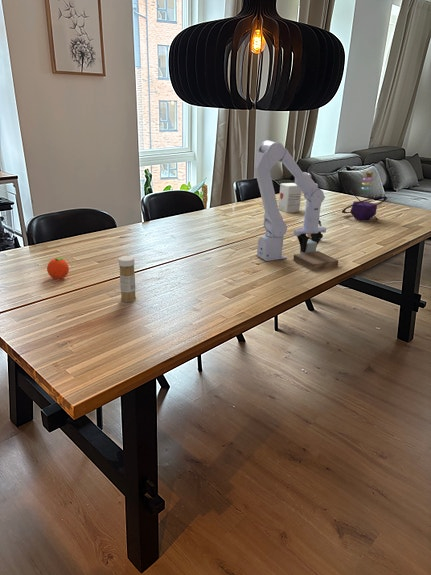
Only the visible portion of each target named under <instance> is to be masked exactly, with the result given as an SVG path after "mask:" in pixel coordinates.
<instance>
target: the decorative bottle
mask: <svg viewBox="0 0 431 575" xmlns="http://www.w3.org/2000/svg"><path fill="white" fill-rule="evenodd" d="M373 173H374V172H373V171H365V177H363V178H362V180H363V181H364V182H361V184H362V187H361V190H363V191H368V192H369V191H371V190H373V188H372V187H371V186H373V185H374V184H373V183H372V182H373V181H374V180H375V179H374V178H373V177H372V176H373ZM363 186H364V187H363ZM349 191H350V193H351V194H352V195H353V196H354V197H355V198H356V199H357V200H356V201H353V203H352V204H351V205H349V206H346V207H345V208H344V209H342V211H341V213H342V214H351V216H352V217H353V218H354V219H355V220H357V221H361V222H362V221H363V222H364V221H370V219H372V218H373V217H374V218H375V219H376V220H377V221H379V218H377V217H376V214H377V209H378V208H377V207H378V205H381V204H382V203H384V202H385V201H387V199H388V197H387V196H375V197H372V198H366V199H364V200H361V199H360V198H359V197H357V195H356V194H355V193H354V192H352V190H349ZM375 199H376V200H377V199H383V200H382V201H380V202H378V203H374V202H371V200H375ZM350 207H351V209H350ZM347 209H350V211H346V210H347Z"/></svg>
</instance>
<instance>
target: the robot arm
mask: <svg viewBox="0 0 431 575" xmlns="http://www.w3.org/2000/svg"><path fill="white" fill-rule="evenodd" d="M256 155H257V156H256V161H255V164H254V172H255V177H256V181H257V184H258V188H259V192H260V196H261V200H262V201H261V202H262V204H263V205H262V206H263V210H264V215H263V228H264V229H265V232H264V235H263V236H260V237H259V238H258V240H257V249H256V250H257V251H256V254H255V255H256V257H259V258H260V259H261V260H264V261H266V262H270V261H275V260H284V259H287V256H285V255H283V247H284V246H283V245H284V236H285V235H286V233H287V232H288V231H287V230H288V225H287V223H286V222H285V221H284V219H283V216H282V214H281V213H280V210H279V209H278V207H279V204H278V202H277V196H276V191H275V187H274V182H273V179H272V175H271V169H272V168H273V167H274V166H275V165H276V164H277V163H278V162H280V163H282V164H283V165H284V167H285V168H286V169H287V170H288V171H289V172H290V173H291V175H292V177H294V183H295V184H296V185H297V186H298V187H299V189H300V190H301V193H302V194H303V197H304V199H305V200H306V201H305V209H304V218H303V227H302V228H299V229H295V230H294V231H293V235H294V236H296V238H297V240H298V244H299V250H300V249H301V252H303V253H304V252H305V251H306V245H307V241H308V240H312V241H314V242H317V246H319V244H320V241H321V240H322V238H323V237H324V234H325V233H326V232H327V227H325V226H321V227H320V226H319V220H320V217H321V216H320V213H321V207H322V203H323V202H324V200H325V199H326V196H325V193H324V191H323V190H322V189H321V188H319V184H318V183H315V181H314V180H313V179H312V174H311V173H309V172H306V171H302V170H301V168H300V166H299V165H298V164H297V162H296V161H295V159H294V158H293V156H292V155H291V154H290V152H289V150H288V149H287V148H286V147H285V146H284V145H283V144H282V143H281V142H277V141H272V140H269V139H267V140H264V141H263V142H262V143H261V144H260V146H258V148H257V154H256ZM323 233H324V234H323ZM307 234H311V238H310V239H309V237H307Z"/></svg>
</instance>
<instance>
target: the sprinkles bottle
mask: <svg viewBox="0 0 431 575" xmlns="http://www.w3.org/2000/svg"><path fill="white" fill-rule="evenodd" d="M118 265H119V284H120V296H121V298H120V300H121V301H122V302H124V303H132V302H134V301H136V300H137V297H136V275H135V274H136V273H135V257H134V256H130V255H124V256H120V257H119V258H118Z"/></svg>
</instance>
